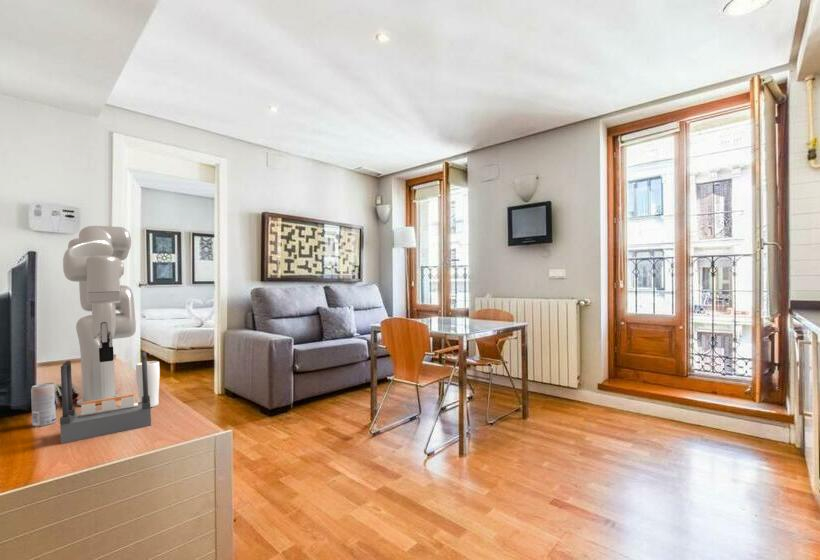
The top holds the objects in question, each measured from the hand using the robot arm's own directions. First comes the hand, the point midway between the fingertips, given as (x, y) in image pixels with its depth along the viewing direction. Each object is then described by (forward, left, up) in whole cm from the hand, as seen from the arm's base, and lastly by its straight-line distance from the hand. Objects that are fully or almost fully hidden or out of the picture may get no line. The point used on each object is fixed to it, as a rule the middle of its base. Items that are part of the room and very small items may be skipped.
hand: (106, 360), depth 115 cm
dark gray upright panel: (0, -9, -15) cm, 17 cm away
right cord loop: (0, +9, -15) cm, 17 cm away
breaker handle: (0, 0, -14) cm, 14 cm away
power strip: (0, 0, -20) cm, 20 cm away
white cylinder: (-18, +10, -20) cm, 28 cm away
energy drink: (-20, -17, -20) cm, 33 cm away
